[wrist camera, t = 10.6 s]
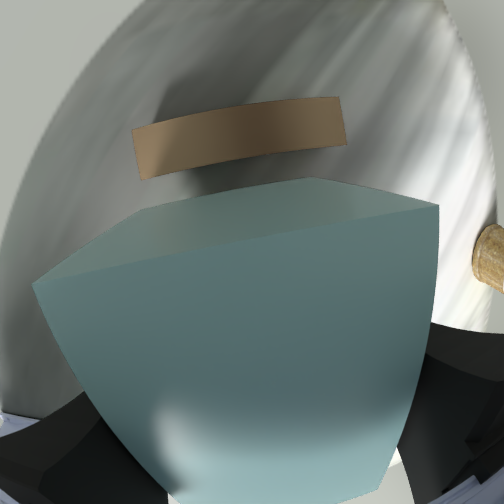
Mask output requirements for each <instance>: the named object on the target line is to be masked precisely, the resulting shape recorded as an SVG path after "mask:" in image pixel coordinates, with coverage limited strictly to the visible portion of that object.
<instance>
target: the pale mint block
mask: <svg viewBox="0 0 504 504" xmlns="http://www.w3.org/2000/svg"><path fill="white" fill-rule="evenodd" d="M438 248H439V205H437V204H434V203H430V202H426V201H423V200H419V199H415V198H411V197H407V196H403V195H399V194H394V193H390V192H386V191H381V190H377V189H372V188H368V187H363V186H358V185H353V184H348V183H343V182H337V181H332V180H327V179H321V178H315V177H307V178H300V179H294V180H287V181H281V182H275V183H268V184H263V185H257V186H251V187H246V188H240V189H235V190H229V191H224V192H219V193H214V194H209V195H204V196H199V197H195V198H190V199H185V200H181V201H176V202H172V203H167V204H163V205H159V206H155V207H150V208H146V209H142V210H140V211H138V212H136V213H135V214H133V215H131V216H130V217H128V218H126V219H125V220H123V221H122V222H120V223H118V224H117V225H115V226H114V227H112V228H110V229H109V230H107V231H106V232H104V233H103V234H101V235H100V236H98V237H97V238H95V239H94V240H92V241H91V242H89V243H88V244H86V245H85V246H83V247H82V248H80V249H79V250H77V251H76V252H74V253H73V254H72V255H70V256H69V257H67V258H66V259H64V260H63V261H62V262H60V263H59V264H58V265H56V266H55V267H53V268H52V269H51V270H49V271H48V272H47V273H45V274H44V275H43V276H41V277H40V278H39V279H37V280H36V281H35V282H33V283H32V284H31V285H32V288H33V290H34V293H35V295H36V298H37V300H38V303H39V305H40V308H41V310H42V312H43V314H44V317H45V319H46V321H47V323H48V325H49V328H50V330H51V332H52V334H53V336H54V338H55V340H56V342H57V344H58V346H59V348H60V350H61V351H62V353H63V355H64V357H65V359H66V361H67V362H68V364H69V366H70V368H71V369H72V371H73V373H74V375H75V376H76V378H77V380H78V381H79V383H80V384H81V386H82V388H83V389H84V391H85V392H86V394H87V396H88V397H89V399H90V400H91V402H92V403H93V405H94V406H95V407H96V409H97V410H98V412H99V413H100V415H101V416H102V417H103V419H104V420H105V421H106V423H107V424H108V426H109V427H110V428H111V429H112V431H113V432H114V433H115V435H116V436H117V437H118V438H119V440H120V441H121V442H122V443H123V445H124V446H125V447H126V448H127V449H128V451H129V452H130V453H131V454H132V455H133V456H134V458H135V459H136V460H137V461H138V462H139V463H140V464H141V465H142V467H143V468H144V469H145V470H146V471H147V472H148V473H149V474H150V475H151V476H152V477H153V478H154V479H155V480H156V481H157V482H158V483H159V484H160V485H161V486H162V487H163V488H164V489H165V490H166V491H167V492H168V493H169V494H170V495H171V496H172V497H173V498H174V499H175V500H176V501H178V502H179V503H180V504H337V503H341V502H344V501H347V500H350V499H353V498H356V497H358V496H361V495H364V494H367V493H370V492H372V491H375V490H377V489H378V487H379V485H380V483H381V481H382V479H383V477H384V475H385V472H386V470H387V468H388V466H389V464H390V461H391V459H392V457H393V454H394V452H395V449H396V447H397V444H398V442H399V439H400V436H401V434H402V431H403V428H404V425H405V422H406V420H407V417H408V414H409V410H410V407H411V404H412V401H413V398H414V394H415V391H416V387H417V383H418V380H419V376H420V372H421V368H422V363H423V359H424V355H425V350H426V345H427V340H428V335H429V329H430V323H431V317H432V311H433V303H434V296H435V287H436V277H437V265H438Z"/></svg>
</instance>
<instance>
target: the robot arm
mask: <svg viewBox="0 0 504 504" xmlns="http://www.w3.org/2000/svg"><path fill="white" fill-rule="evenodd" d="M0 417H1V418H2V419H3V421H4V422H3V424H2V426H1V428H0V504H168V492H167V491H166V490H165V489H164V488H163V487H162V486H161V485H160V484H159V483H158V482H157V481H156V480H155V479H154V478H153V477H152V476H151V475H150V474H149V473H148V472H147V471H146V470H145V469H144V468H143V467H142V465H141V464H140V463H139V462H138V461H137V460H136V459H135V458H134V456H133V455H132V454H131V453H130V452H129V451H128V449H127V448H126V447H125V446H124V445H123V443H122V442H121V441H120V440H119V438H118V437H117V436H116V435H115V433H114V432H113V431H112V429H111V428H110V427H109V426H108V424H107V423H106V421H105V420H104V419H103V417H102V416H101V415H100V413H99V412H98V410H97V409H96V407H95V406H94V405H93V403H92V402H91V400H90V399H89V397H88V396H87V394H86V392H85V391H84V392H82V393H81V394H80V395H79V396H77V397H76V398H75V399H73V400H72V401H71V402H69V403H68V404H66V405H65V406H63V407H62V408H60V409H59V410H57V411H55V412H54V413H52V414H51V415H49V416H47V417H46V418H44V419H42V420H37V419H31V418H25V417H20V416H16V415H11V414H6V413H2V412H1V413H0ZM397 448H398V451H399V454H400V456H401V459H402V462H403V465H404V468H405V471H406V474H407V476H408V480H409V484H410V487H411V491H412V495H413V499H414V503H415V504H504V334H496V333H482V332H474V331H467V330H461V329H456V328H452V327H447V326H443V325H439V324H436V323H432V322H431V323H430V329H429V335H428V340H427V345H426V350H425V355H424V359H423V363H422V368H421V372H420V376H419V380H418V383H417V387H416V391H415V394H414V398H413V401H412V404H411V407H410V410H409V414H408V417H407V420H406V422H405V425H404V428H403V431H402V434H401V436H400V439H399V442H398V444H397Z"/></svg>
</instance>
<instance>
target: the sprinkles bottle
mask: <svg viewBox="0 0 504 504" xmlns="http://www.w3.org/2000/svg"><path fill="white" fill-rule="evenodd" d="M472 266H473V272H474V275H475V277H476V278H477V279H478V280H479V281H480V282H482V283H486V284H488V285H490V286H491V287H493V288H495V289H496V290H498V291H500V292H501V293H503V294H504V229H503V228H502V227H501V226H500V225H498V224H492V225H490V226H488V227H486V228H485V230H484V231H483V232H482V233H481V236H480V237H479V239H478V241H477V243H476V247H475V250H474V253H473V263H472Z"/></svg>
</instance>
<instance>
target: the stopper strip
mask: <svg viewBox="0 0 504 504" xmlns="http://www.w3.org/2000/svg"><path fill="white" fill-rule="evenodd" d="M132 135H133V141H134V147H135V152H136V158H137V163H138V168H139V173H140V178H141V180H145V179H149V178H152V177H156V176H160V175H165V174H169V173H173V172H177V171H182V170H186V169H191V168H195V167H200V166H205V165H210V164H215V163H220V162H225V161H230V160H236V159H242V158H247V157H253V156H260V155H266V154H273V153H280V152H287V151H295V150H303V149H311V148H320V147H330V146H341V145H347V142H346V135H345V129H344V123H343V117H342V111H341V106H340V101H339V97H319V98H302V99H290V100H279V101H270V102H262V103H254V104H247V105H240V106H234V107H227V108H222V109H216V110H211V111H206V112H201V113H196V114H191V115H187V116H182V117H178V118H174V119H170V120H166V121H162V122H158V123H154V124H150V125H147V126H143V127H140V128H136V129H133V130H132Z"/></svg>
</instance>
